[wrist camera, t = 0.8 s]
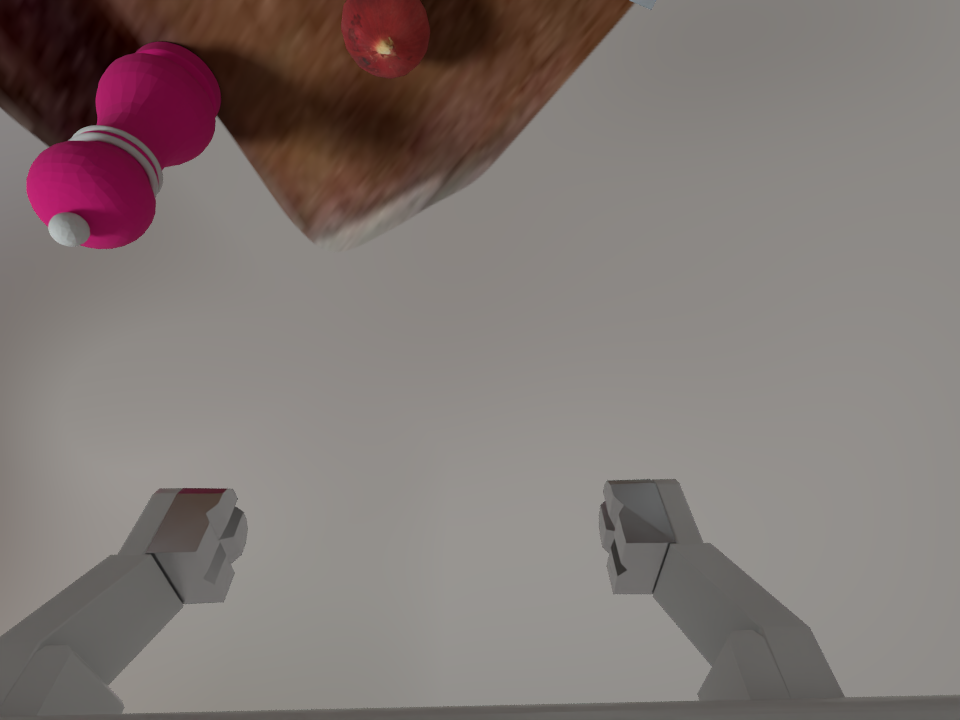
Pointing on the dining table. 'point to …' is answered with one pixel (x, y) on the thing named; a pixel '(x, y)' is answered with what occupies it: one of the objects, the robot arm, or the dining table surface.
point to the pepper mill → (126, 148)
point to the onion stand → (645, 3)
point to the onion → (386, 35)
